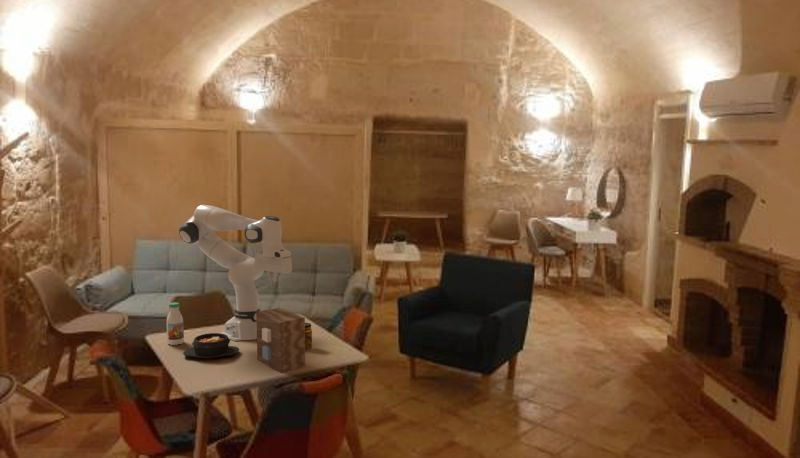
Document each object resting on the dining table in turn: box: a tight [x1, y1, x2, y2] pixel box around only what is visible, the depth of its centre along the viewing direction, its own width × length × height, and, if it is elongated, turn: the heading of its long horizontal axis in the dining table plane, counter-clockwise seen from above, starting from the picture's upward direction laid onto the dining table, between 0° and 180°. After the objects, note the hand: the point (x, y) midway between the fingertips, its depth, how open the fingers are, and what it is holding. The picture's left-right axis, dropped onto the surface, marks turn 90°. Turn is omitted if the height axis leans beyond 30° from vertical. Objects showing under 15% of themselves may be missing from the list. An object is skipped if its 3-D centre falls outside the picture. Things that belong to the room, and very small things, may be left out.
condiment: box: [305, 322, 316, 352], centre depth 298 cm, size 7×8×12 cm
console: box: [256, 307, 306, 373], centre depth 278 cm, size 12×22×22 cm, turn 39°
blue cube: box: [262, 345, 272, 360], centre depth 275 cm, size 5×5×5 cm
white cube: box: [262, 328, 271, 342], centre depth 274 cm, size 5×5×5 cm
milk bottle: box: [166, 301, 185, 346], centre depth 304 cm, size 8×8×20 cm
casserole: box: [182, 332, 240, 360], centre depth 288 cm, size 25×19×8 cm
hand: (273, 281), depth 289 cm, fingers closed
